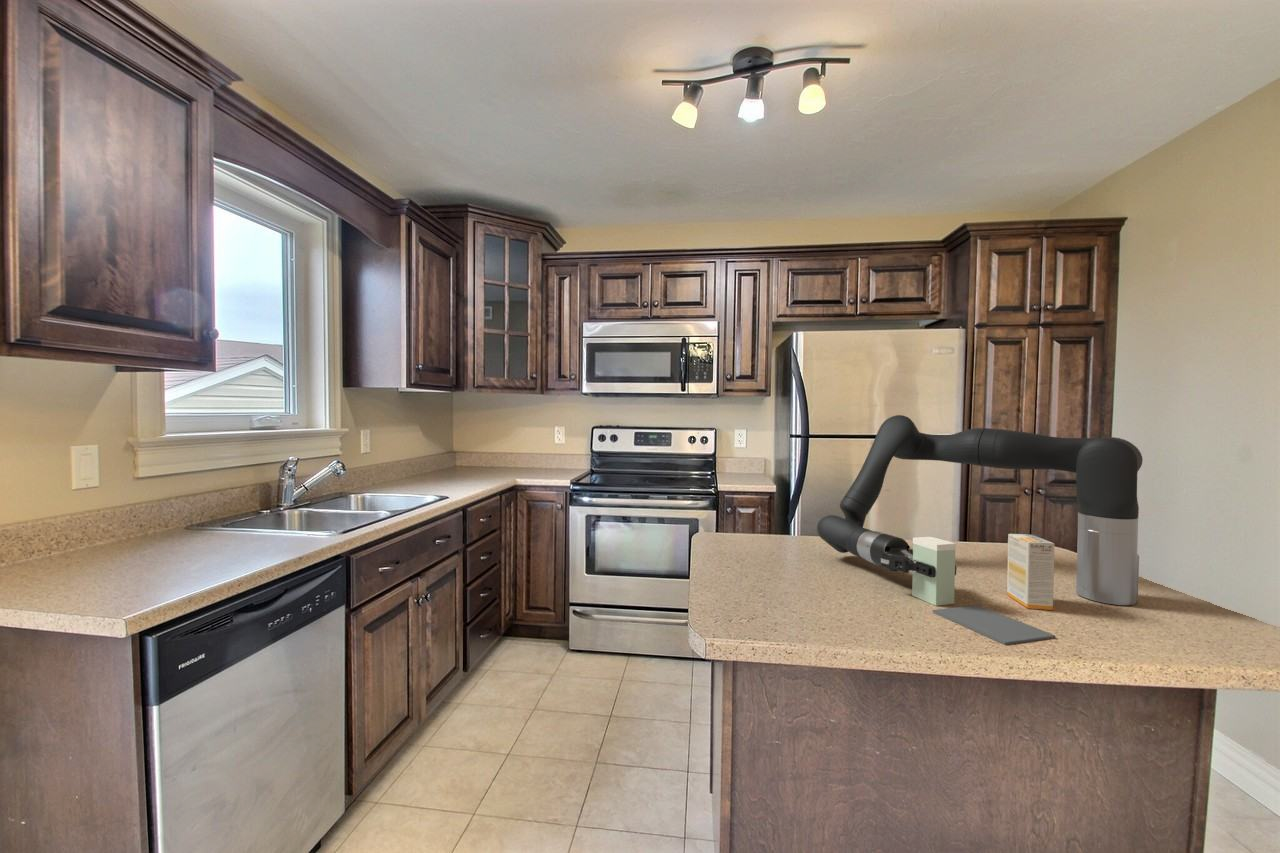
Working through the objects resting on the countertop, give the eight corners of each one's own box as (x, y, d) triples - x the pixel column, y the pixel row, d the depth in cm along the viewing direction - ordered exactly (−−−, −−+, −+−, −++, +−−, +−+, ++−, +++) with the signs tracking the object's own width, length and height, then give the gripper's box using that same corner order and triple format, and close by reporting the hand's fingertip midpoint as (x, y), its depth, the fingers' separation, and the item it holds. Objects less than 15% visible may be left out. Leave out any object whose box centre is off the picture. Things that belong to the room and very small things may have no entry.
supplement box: (1054, 611, 100) (1056, 543, 99) (1026, 608, 101) (1028, 541, 100) (1031, 596, 108) (1033, 533, 107) (1005, 594, 109) (1007, 532, 108)
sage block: (929, 593, 109) (931, 536, 108) (954, 603, 103) (955, 543, 102) (911, 595, 107) (912, 537, 107) (935, 605, 101) (937, 544, 101)
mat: (978, 606, 101) (978, 604, 101) (1055, 637, 87) (1055, 635, 87) (932, 612, 98) (932, 610, 98) (1004, 644, 84) (1004, 642, 84)
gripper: (856, 535, 117) (915, 555, 100) (908, 531, 121) (973, 550, 104) (855, 568, 117) (914, 593, 100) (907, 563, 121) (973, 587, 104)
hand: (944, 571), depth 102 cm, fingers closed on sage block, 4 cm apart
